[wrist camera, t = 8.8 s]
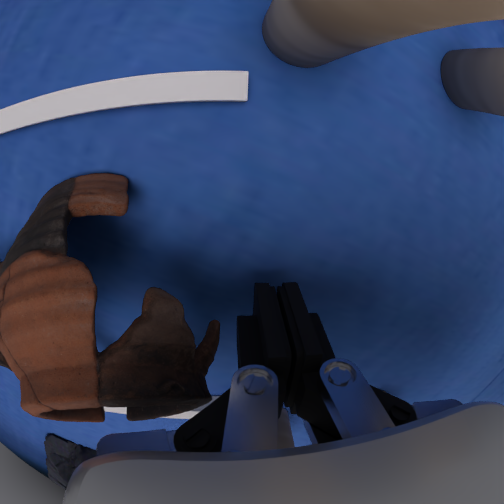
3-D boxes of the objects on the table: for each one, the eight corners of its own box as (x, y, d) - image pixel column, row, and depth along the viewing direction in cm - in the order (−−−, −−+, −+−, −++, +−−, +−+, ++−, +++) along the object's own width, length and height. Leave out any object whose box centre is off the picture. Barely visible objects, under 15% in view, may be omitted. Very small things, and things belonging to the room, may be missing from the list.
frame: (246, 75, 9) (248, 71, 8) (238, 403, 17) (239, 418, 16) (-36, 128, 8) (-51, 132, 7) (50, 386, 16) (45, 398, 15)
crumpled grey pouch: (38, 461, 26) (32, 484, 22) (50, 423, 20) (38, 461, 15) (124, 496, 32) (121, 518, 28) (181, 474, 25) (181, 509, 21)
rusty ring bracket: (203, 147, 11) (268, 374, 6) (188, 278, 18) (218, 411, 14) (-57, 186, 7) (-107, 377, 2) (14, 294, 14) (13, 423, 10)
